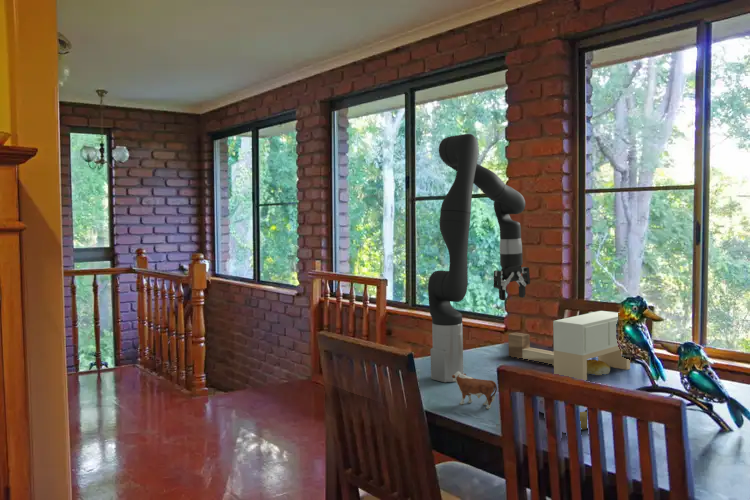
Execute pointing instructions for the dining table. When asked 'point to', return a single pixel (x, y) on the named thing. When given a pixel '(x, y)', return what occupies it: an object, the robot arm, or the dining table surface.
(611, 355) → the cabinet
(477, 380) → the bull figurine
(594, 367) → the bread roll
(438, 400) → the dining table surface
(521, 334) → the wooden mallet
